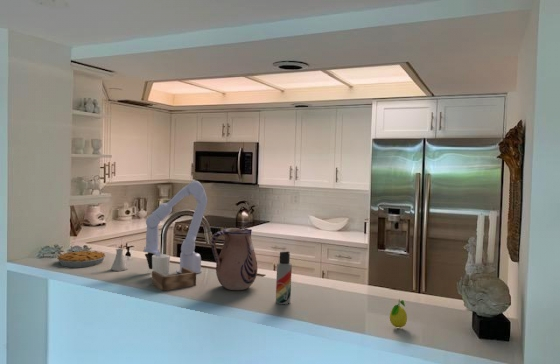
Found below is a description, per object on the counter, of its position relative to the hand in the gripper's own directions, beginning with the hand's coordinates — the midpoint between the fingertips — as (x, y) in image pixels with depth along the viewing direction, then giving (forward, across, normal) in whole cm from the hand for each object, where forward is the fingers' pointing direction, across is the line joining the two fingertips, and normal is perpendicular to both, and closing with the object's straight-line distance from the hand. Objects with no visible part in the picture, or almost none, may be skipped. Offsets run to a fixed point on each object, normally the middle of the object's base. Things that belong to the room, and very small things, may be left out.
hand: (151, 268), depth 204 cm
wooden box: (+2, +24, 0) cm, 24 cm away
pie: (+2, -37, -22) cm, 43 cm away
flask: (+2, -14, -11) cm, 18 cm away
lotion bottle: (+2, +68, +25) cm, 72 cm away
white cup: (+2, +10, 0) cm, 10 cm away
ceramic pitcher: (+2, +42, +19) cm, 46 cm away
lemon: (+2, +110, +40) cm, 117 cm away
